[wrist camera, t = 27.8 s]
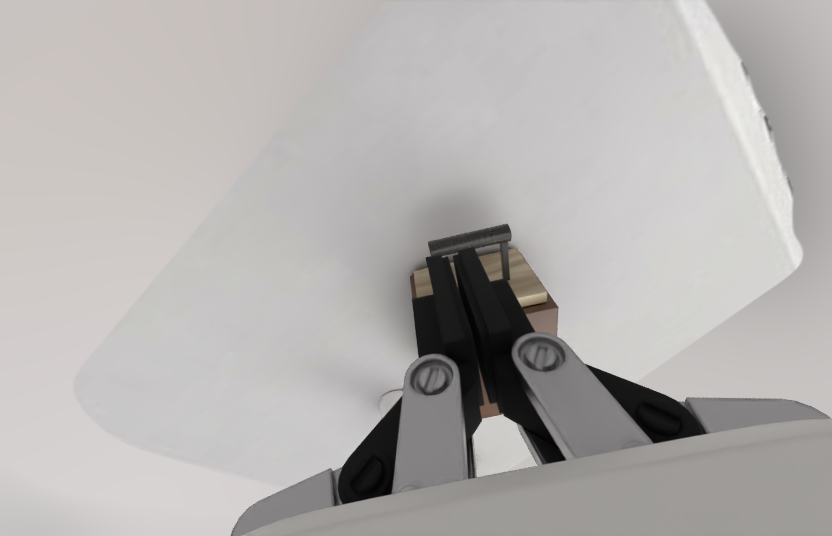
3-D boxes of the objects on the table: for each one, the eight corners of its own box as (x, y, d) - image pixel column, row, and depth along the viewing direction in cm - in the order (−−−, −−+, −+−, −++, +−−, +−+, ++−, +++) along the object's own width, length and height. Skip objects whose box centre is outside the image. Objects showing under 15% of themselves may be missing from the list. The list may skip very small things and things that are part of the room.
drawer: (400, 224, 32) (405, 267, 26) (514, 197, 32) (548, 234, 25) (435, 353, 43) (444, 406, 36) (520, 334, 42) (545, 385, 36)
